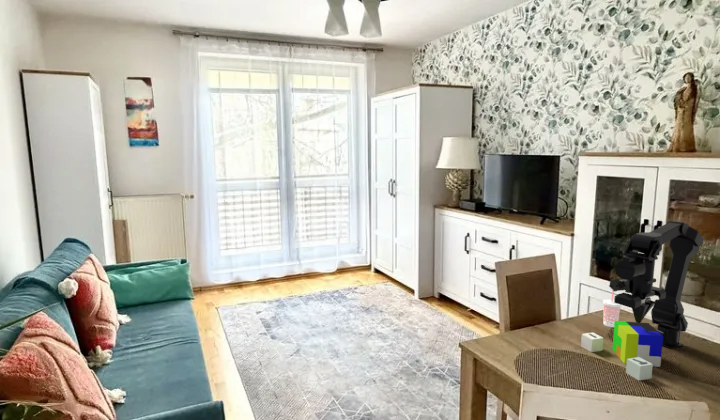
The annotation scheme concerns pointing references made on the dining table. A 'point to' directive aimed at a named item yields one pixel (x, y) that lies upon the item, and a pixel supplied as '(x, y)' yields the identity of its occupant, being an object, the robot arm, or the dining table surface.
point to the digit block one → (592, 342)
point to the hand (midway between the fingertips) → (638, 322)
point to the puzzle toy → (637, 342)
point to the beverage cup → (610, 311)
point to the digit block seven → (639, 368)
